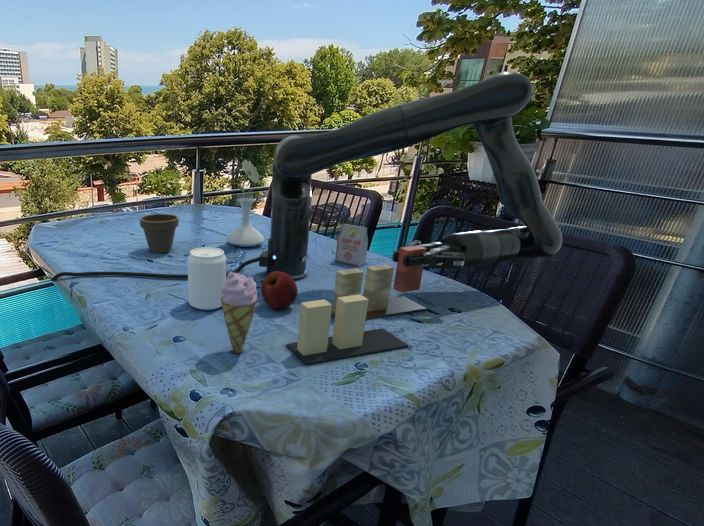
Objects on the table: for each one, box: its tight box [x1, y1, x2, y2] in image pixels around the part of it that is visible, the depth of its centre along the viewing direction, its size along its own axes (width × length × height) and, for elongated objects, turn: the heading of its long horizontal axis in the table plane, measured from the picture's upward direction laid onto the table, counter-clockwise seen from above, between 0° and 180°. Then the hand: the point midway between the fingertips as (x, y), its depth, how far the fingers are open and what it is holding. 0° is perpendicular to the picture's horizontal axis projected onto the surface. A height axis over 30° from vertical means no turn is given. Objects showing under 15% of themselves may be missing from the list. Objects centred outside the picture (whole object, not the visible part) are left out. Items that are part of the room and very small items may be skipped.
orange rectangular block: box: [393, 245, 427, 293], centre depth 95 cm, size 4×2×9 cm, turn 105°
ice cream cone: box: [221, 271, 258, 354], centre depth 80 cm, size 7×6×15 cm
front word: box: [286, 293, 409, 366], centre depth 81 cm, size 20×7×9 cm, turn 105°
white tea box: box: [334, 223, 369, 267], centre depth 123 cm, size 4×7×10 cm, turn 44°
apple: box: [260, 271, 298, 310], centre depth 98 cm, size 7×8×8 cm
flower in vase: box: [226, 159, 265, 248], centre depth 139 cm, size 13×11×25 cm
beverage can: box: [187, 246, 227, 311], centre depth 100 cm, size 8×8×12 cm
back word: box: [331, 264, 428, 320], centre depth 95 cm, size 20×7×9 cm, turn 105°
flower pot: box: [139, 213, 180, 254], centre depth 138 cm, size 12×11×10 cm
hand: (399, 259), depth 94 cm, fingers closed on orange rectangular block, 2 cm apart
